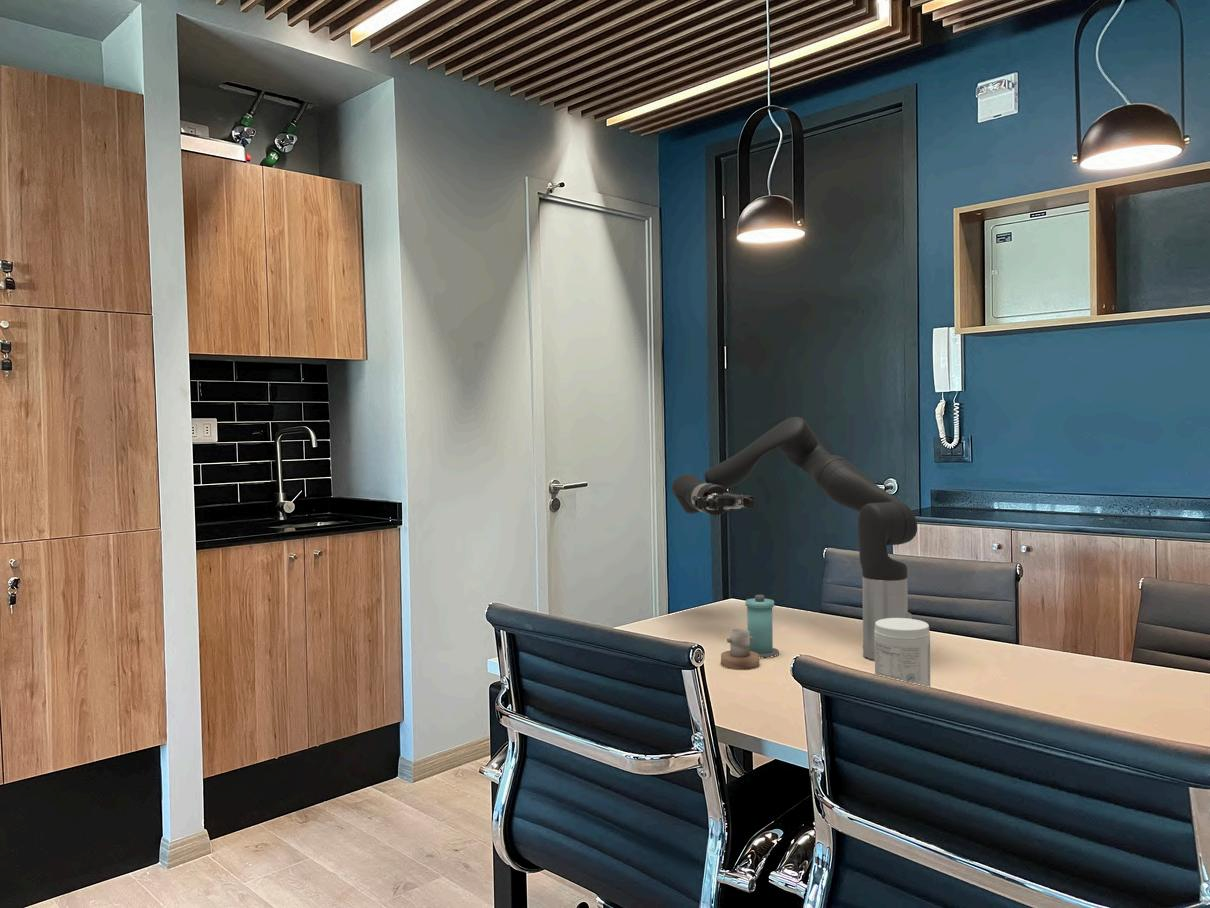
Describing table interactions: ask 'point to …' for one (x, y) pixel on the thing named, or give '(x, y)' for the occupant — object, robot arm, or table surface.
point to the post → (740, 651)
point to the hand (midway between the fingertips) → (734, 504)
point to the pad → (770, 653)
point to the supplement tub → (903, 650)
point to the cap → (760, 624)
